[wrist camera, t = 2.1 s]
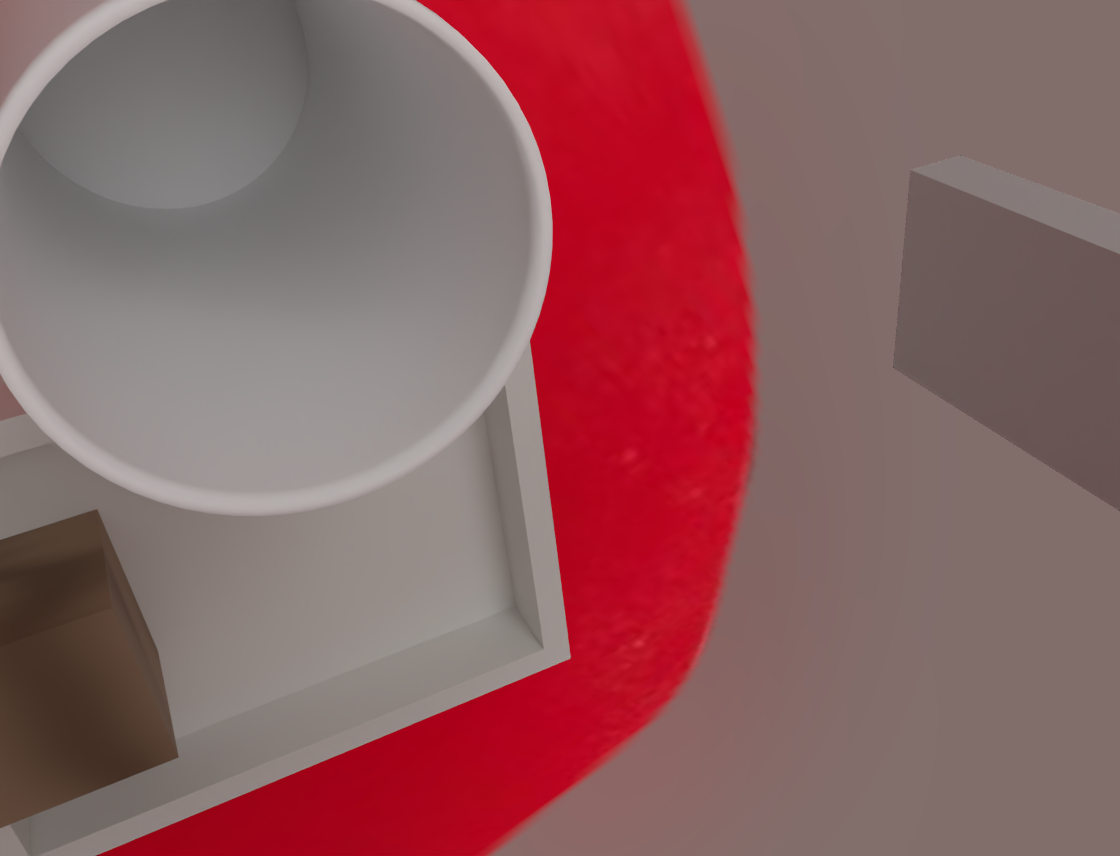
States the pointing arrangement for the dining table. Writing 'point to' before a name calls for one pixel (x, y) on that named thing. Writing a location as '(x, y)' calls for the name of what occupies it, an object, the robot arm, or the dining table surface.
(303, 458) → the cup
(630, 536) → the dining table surface
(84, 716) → the walnut block
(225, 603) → the tray
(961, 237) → the robot arm
